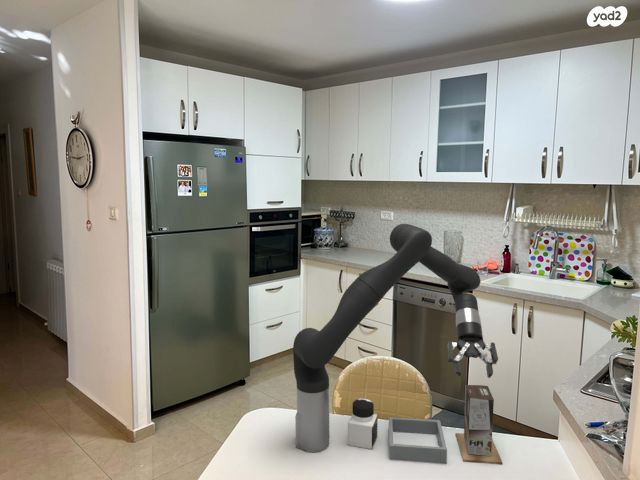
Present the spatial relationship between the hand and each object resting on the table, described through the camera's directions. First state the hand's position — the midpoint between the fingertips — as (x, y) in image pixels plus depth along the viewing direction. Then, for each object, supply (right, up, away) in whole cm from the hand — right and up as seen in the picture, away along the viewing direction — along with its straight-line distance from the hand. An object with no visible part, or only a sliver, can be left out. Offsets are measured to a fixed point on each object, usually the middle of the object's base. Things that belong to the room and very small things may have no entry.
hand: (474, 376), depth 133 cm
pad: (-1, -18, -6) cm, 20 cm away
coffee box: (-1, -18, -6) cm, 19 cm away
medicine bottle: (-33, -18, -2) cm, 38 cm away
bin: (-18, -18, -4) cm, 26 cm away
